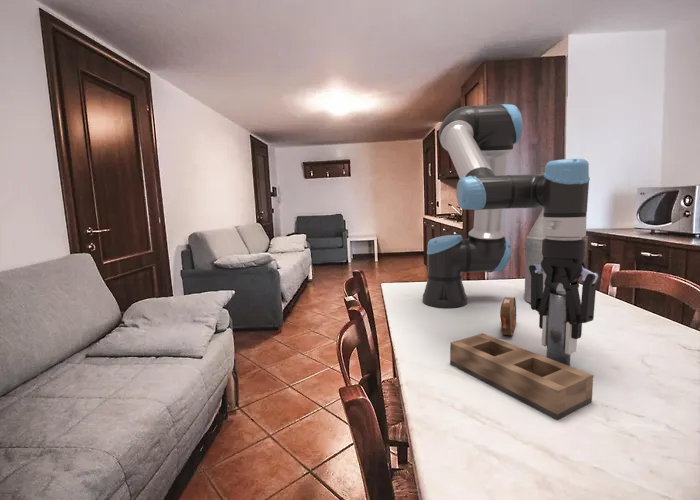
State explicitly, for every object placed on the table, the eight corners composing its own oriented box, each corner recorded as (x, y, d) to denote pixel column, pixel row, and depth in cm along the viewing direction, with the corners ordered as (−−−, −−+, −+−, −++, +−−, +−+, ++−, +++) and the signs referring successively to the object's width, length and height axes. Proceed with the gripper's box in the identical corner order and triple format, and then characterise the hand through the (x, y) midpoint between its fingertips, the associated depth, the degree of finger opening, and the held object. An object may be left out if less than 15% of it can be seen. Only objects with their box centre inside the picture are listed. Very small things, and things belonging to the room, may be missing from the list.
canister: (529, 307, 117) (533, 184, 112) (520, 294, 134) (523, 186, 128) (573, 309, 113) (579, 182, 108) (559, 295, 130) (564, 184, 125)
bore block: (450, 364, 79) (450, 342, 78) (482, 353, 84) (482, 333, 83) (557, 420, 58) (558, 391, 58) (591, 402, 63) (593, 375, 62)
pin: (541, 365, 77) (544, 292, 75) (554, 360, 79) (557, 289, 77) (561, 373, 73) (565, 297, 71) (574, 368, 75) (578, 293, 73)
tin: (511, 340, 91) (512, 308, 90) (498, 338, 93) (498, 307, 92) (517, 322, 104) (517, 294, 103) (505, 321, 106) (505, 293, 105)
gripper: (513, 236, 78) (510, 338, 82) (599, 243, 63) (592, 368, 66) (535, 233, 82) (532, 332, 85) (622, 239, 67) (614, 359, 70)
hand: (558, 348), depth 76 cm, fingers closed on pin, 4 cm apart
